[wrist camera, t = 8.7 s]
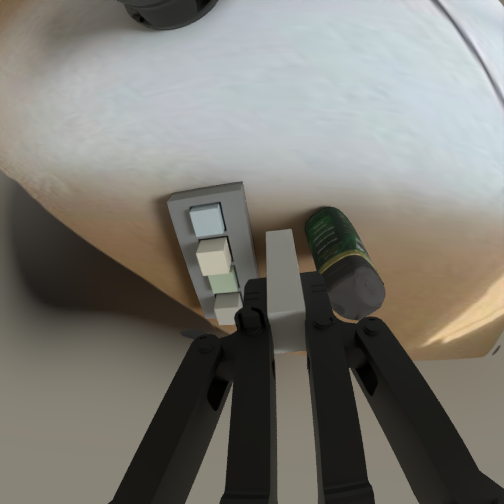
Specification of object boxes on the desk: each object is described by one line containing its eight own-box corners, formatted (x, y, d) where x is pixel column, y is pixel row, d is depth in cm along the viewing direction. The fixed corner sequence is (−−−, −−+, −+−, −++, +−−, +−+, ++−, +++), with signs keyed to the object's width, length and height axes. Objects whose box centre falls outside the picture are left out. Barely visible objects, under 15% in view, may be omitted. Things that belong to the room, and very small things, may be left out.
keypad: (173, 192, 46) (166, 202, 43) (242, 181, 45) (240, 189, 41) (208, 305, 60) (205, 318, 57) (263, 300, 59) (263, 314, 55)
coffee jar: (296, 225, 49) (311, 297, 33) (332, 198, 46) (366, 261, 30) (327, 259, 52) (350, 333, 37) (361, 235, 49) (397, 304, 34)
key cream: (200, 240, 47) (195, 253, 43) (226, 237, 46) (223, 250, 43) (206, 261, 49) (202, 275, 46) (231, 259, 48) (229, 273, 45)
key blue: (194, 202, 45) (189, 212, 42) (220, 198, 45) (217, 208, 42) (201, 225, 48) (196, 237, 44) (225, 221, 47) (223, 233, 44)
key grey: (216, 294, 53) (213, 308, 50) (239, 292, 53) (237, 307, 49) (221, 310, 55) (219, 325, 52) (243, 308, 55) (242, 323, 52)
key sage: (210, 261, 52) (207, 274, 48) (234, 258, 51) (232, 272, 48) (216, 280, 54) (213, 293, 51) (238, 277, 54) (237, 291, 50)
